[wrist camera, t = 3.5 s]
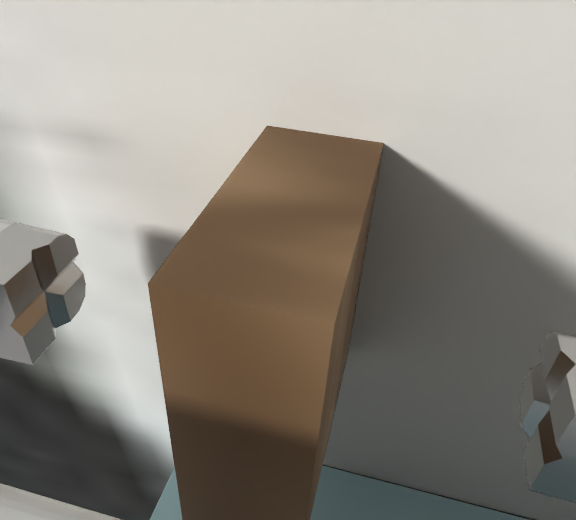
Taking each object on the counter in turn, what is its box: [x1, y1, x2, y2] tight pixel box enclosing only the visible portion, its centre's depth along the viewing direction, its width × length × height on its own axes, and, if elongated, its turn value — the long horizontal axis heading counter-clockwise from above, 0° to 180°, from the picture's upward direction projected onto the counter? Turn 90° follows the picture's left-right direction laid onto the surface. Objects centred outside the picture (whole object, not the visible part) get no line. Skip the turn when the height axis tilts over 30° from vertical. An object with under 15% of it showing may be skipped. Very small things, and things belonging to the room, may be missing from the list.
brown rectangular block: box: [148, 126, 383, 520], centre depth 9 cm, size 2×5×4 cm, turn 177°
